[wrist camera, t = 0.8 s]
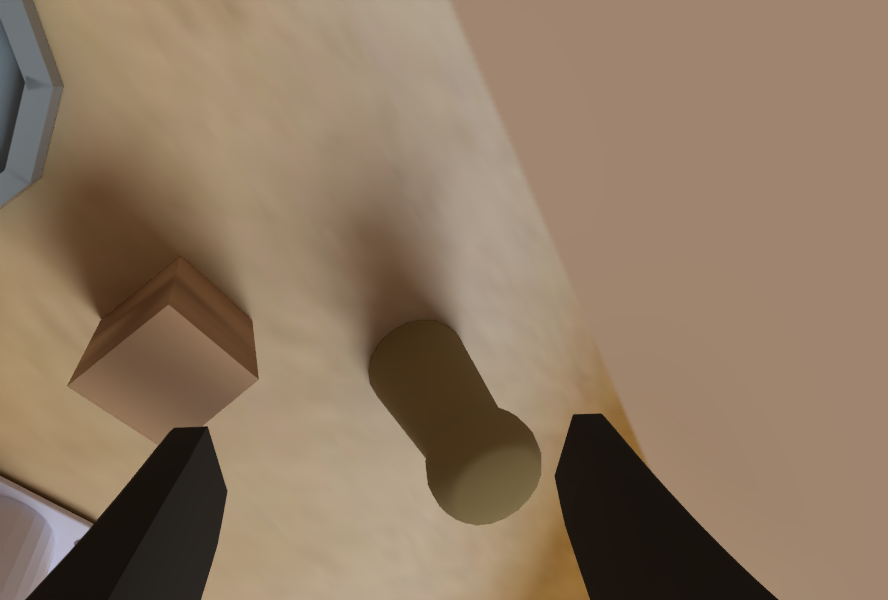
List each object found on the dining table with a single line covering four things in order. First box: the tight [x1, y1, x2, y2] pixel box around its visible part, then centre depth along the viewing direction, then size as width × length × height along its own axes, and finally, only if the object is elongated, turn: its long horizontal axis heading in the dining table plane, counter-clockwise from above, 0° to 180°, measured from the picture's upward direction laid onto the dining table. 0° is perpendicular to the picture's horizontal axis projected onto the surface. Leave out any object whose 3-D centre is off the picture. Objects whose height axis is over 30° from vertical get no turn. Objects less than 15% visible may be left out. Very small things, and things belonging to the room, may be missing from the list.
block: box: [67, 256, 259, 445], centre depth 22 cm, size 5×5×6 cm
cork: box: [369, 320, 541, 525], centre depth 26 cm, size 6×6×11 cm
